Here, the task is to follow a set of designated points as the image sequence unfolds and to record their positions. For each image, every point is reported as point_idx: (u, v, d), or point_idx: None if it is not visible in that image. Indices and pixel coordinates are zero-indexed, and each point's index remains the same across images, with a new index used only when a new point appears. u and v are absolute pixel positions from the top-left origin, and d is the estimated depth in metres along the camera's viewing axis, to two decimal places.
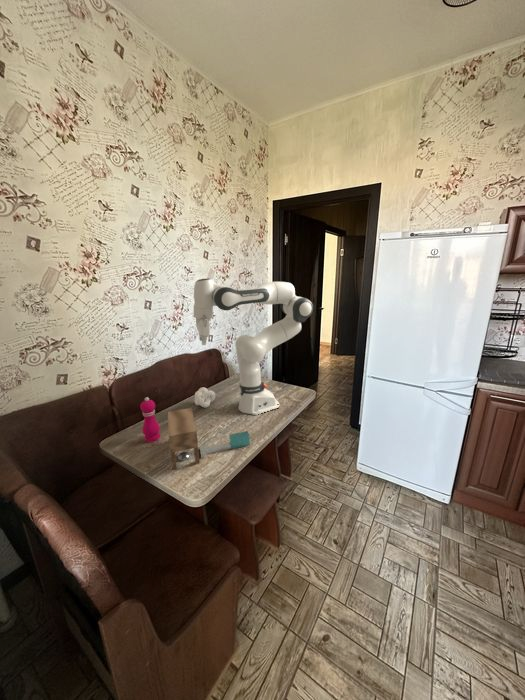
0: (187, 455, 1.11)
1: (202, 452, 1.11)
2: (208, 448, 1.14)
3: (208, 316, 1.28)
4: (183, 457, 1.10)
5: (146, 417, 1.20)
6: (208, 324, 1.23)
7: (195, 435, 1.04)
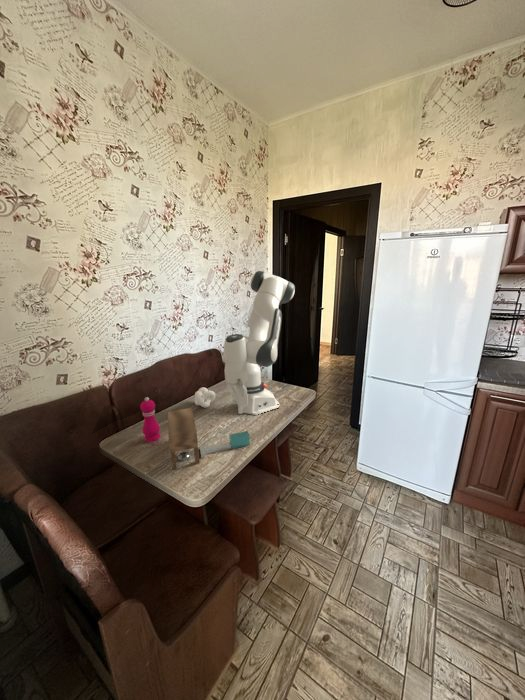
0: (187, 455, 1.11)
1: (202, 452, 1.11)
2: (208, 448, 1.14)
3: (243, 380, 1.07)
4: (183, 457, 1.10)
5: (146, 417, 1.20)
6: (245, 392, 1.03)
7: (195, 435, 1.04)
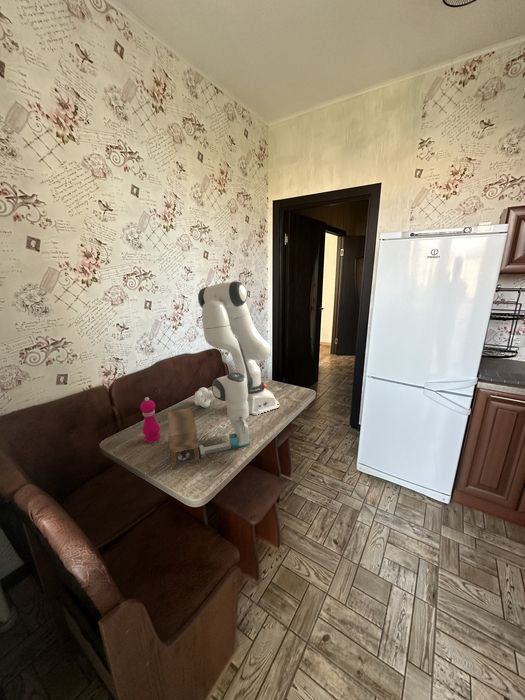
0: (187, 455, 1.11)
1: (202, 452, 1.11)
2: (208, 448, 1.14)
3: (245, 417, 1.11)
4: (183, 457, 1.10)
5: (146, 417, 1.20)
6: (247, 430, 1.07)
7: (195, 435, 1.04)
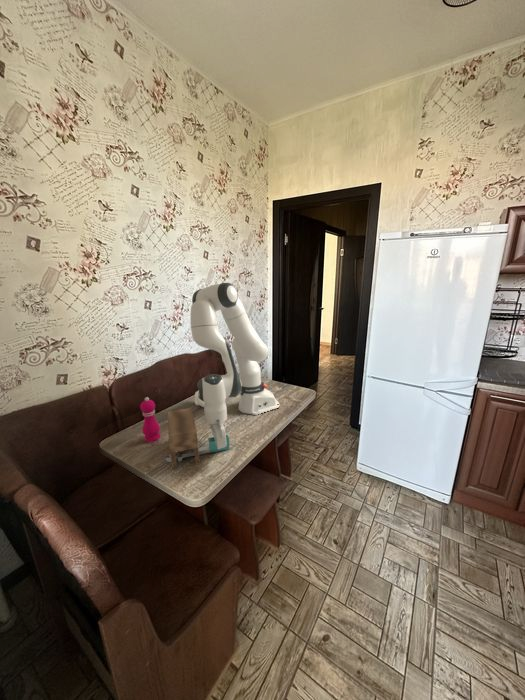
0: None
1: (179, 455, 1.08)
2: (186, 451, 1.11)
3: (222, 420, 1.08)
4: None
5: (146, 417, 1.20)
6: (224, 434, 1.04)
7: (195, 435, 1.04)
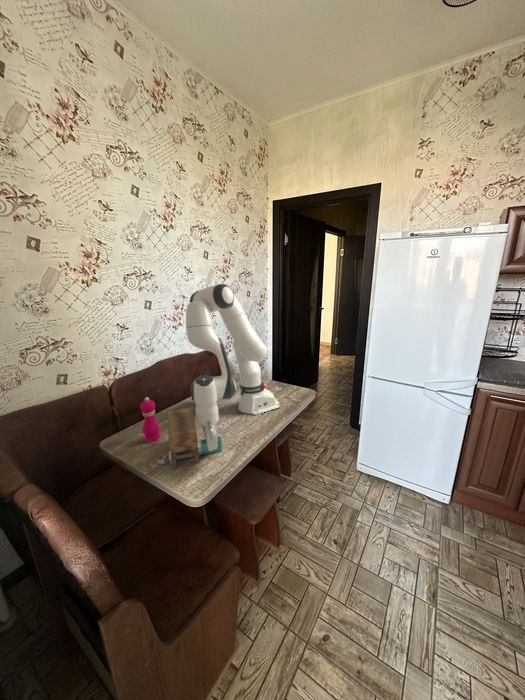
0: (166, 459, 1.09)
1: None
2: (178, 454, 1.10)
3: (214, 421, 1.07)
4: (162, 461, 1.08)
5: (146, 417, 1.20)
6: (215, 436, 1.03)
7: (195, 435, 1.04)
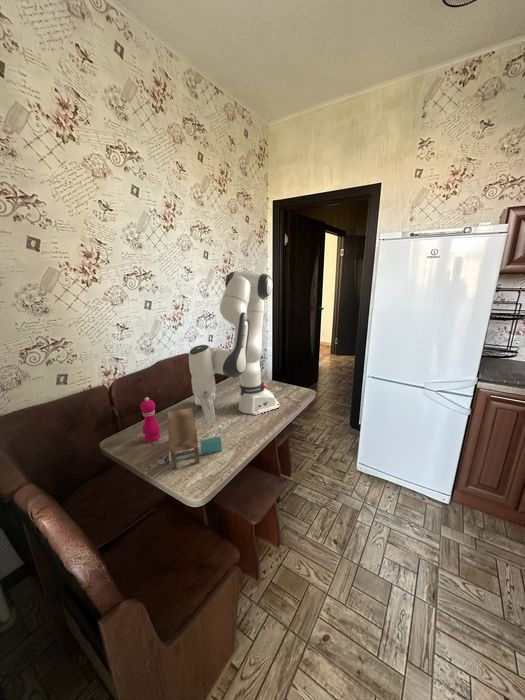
0: (166, 459, 1.09)
1: (170, 459, 1.07)
2: (177, 455, 1.10)
3: (210, 391, 1.04)
4: (162, 461, 1.07)
5: (146, 417, 1.20)
6: (212, 405, 1.00)
7: (195, 435, 1.04)
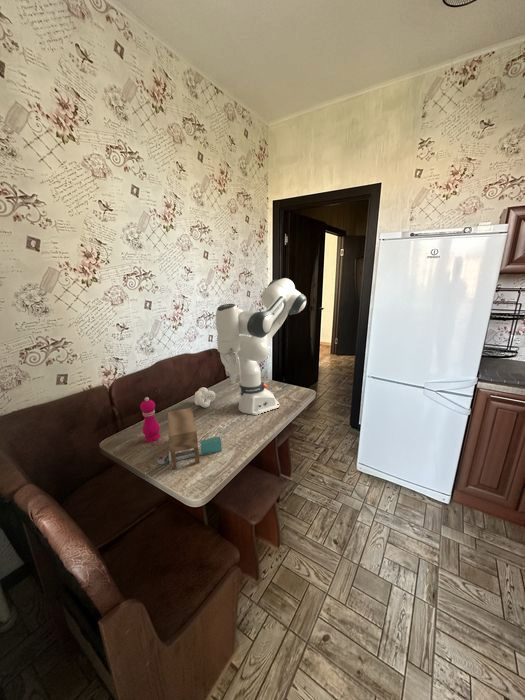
0: (166, 459, 1.09)
1: (170, 459, 1.07)
2: (177, 455, 1.10)
3: (236, 349, 1.06)
4: (162, 461, 1.08)
5: (146, 417, 1.20)
6: (238, 360, 1.02)
7: (195, 435, 1.04)
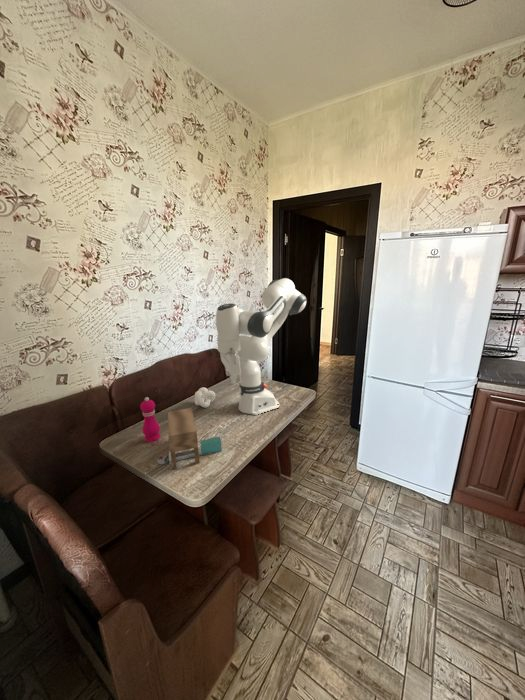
0: (166, 459, 1.09)
1: (170, 459, 1.07)
2: (177, 455, 1.10)
3: (236, 349, 1.06)
4: (162, 461, 1.07)
5: (146, 417, 1.20)
6: (238, 360, 1.02)
7: (195, 435, 1.04)
